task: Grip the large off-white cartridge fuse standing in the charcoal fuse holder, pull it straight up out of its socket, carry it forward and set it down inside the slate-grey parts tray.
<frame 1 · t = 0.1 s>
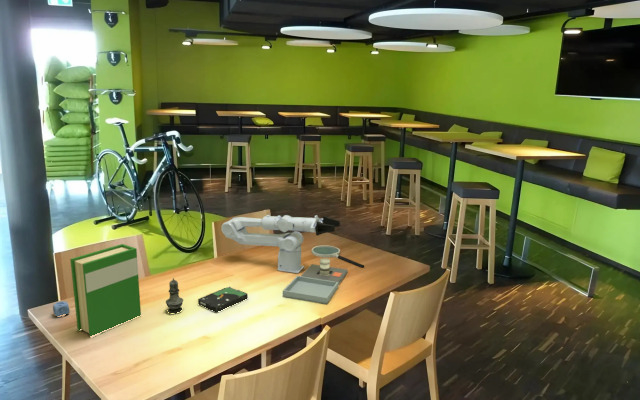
hand: (337, 226, 192), 22 cm above the table, tool horizontal, fingers open, 7 cm apart
disk drive: (223, 303, 171), on the table
fuse holder: (324, 276, 196), on the table
fuse: (324, 268, 196), in the fuse holder
magnifying glass: (338, 259, 218), on the table
hardback book: (110, 323, 154), on the table
decorative dice: (61, 315, 158), on the table
parts tray: (311, 292, 181), on the table
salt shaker: (175, 311, 164), on the table
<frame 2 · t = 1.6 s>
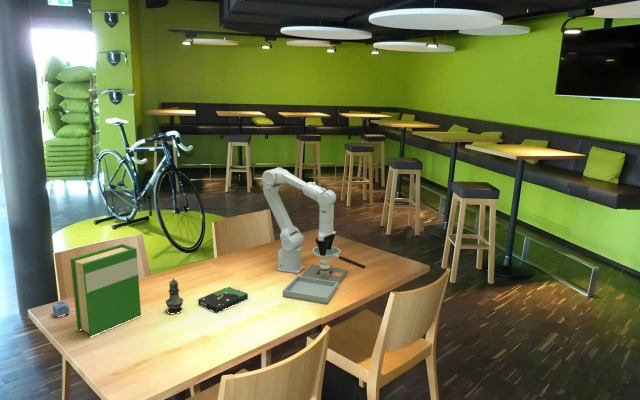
hand: (325, 252, 194), 10 cm above the table, tool pointing down, fingers open, 7 cm apart
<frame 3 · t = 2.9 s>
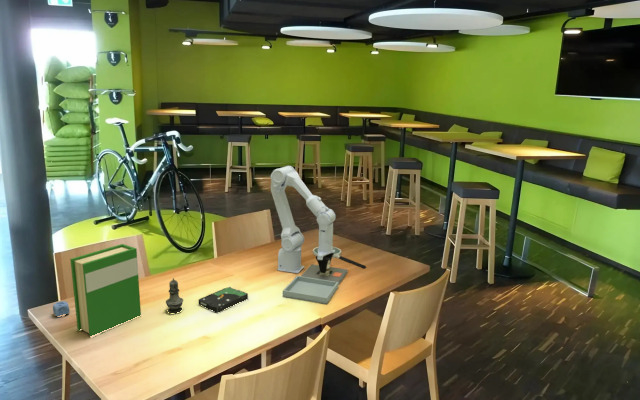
hand: (324, 270, 196), 2 cm above the table, tool pointing down, fingers closed on fuse, 4 cm apart
fuse: (324, 268, 196), in the fuse holder, touching gripper
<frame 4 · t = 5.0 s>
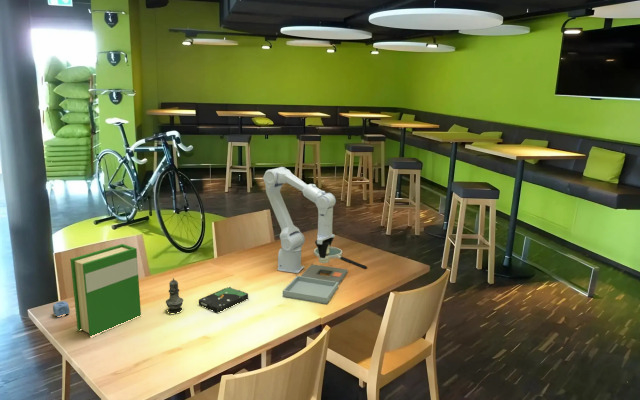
hand: (324, 255, 193), 9 cm above the table, tool pointing down, fingers closed on fuse, 4 cm apart
fuse: (324, 253, 193), point 10 cm above the table, touching gripper
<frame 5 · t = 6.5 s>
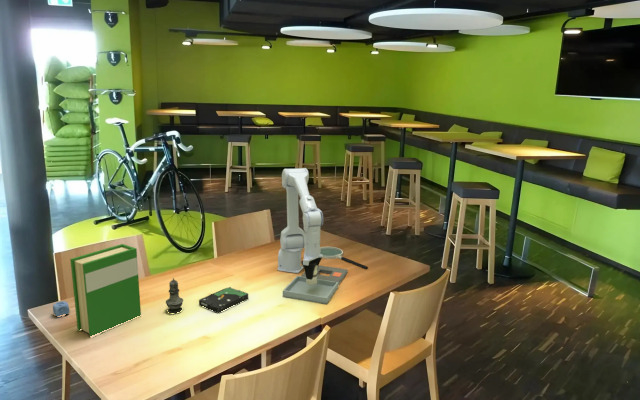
hand: (311, 276, 179), 6 cm above the table, tool pointing down, fingers closed on fuse, 4 cm apart
fuse: (311, 274, 179), point 8 cm above the table, touching gripper
when the fingers open (4 cm above the table, at t = 7.3 s): fuse drops 1 cm, resting on parts tray.
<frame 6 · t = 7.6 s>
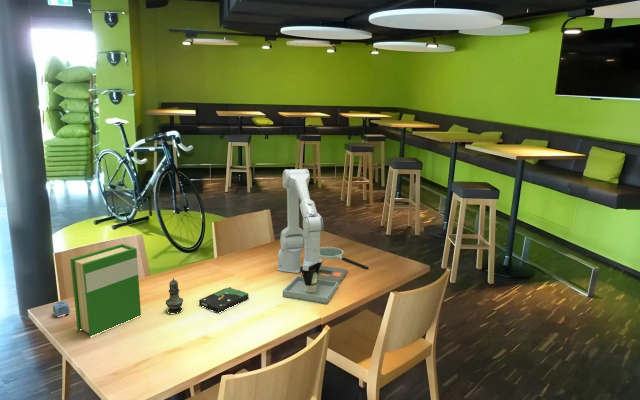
hand: (311, 281, 180), 4 cm above the table, tool pointing down, fingers open, 7 cm apart
fuse: (311, 282, 180), in the parts tray, point 4 cm above the table
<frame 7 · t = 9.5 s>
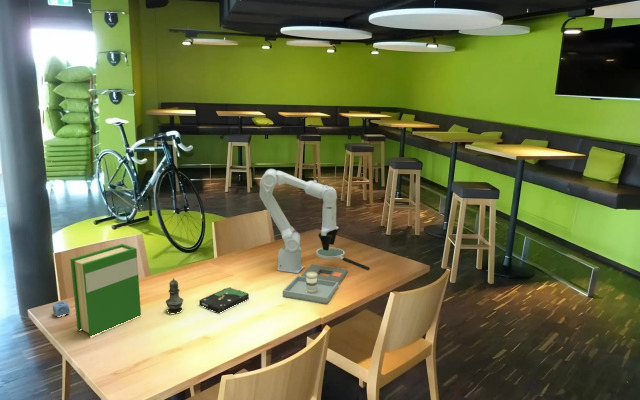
hand: (328, 247, 200), 10 cm above the table, tool pointing down, fingers open, 7 cm apart
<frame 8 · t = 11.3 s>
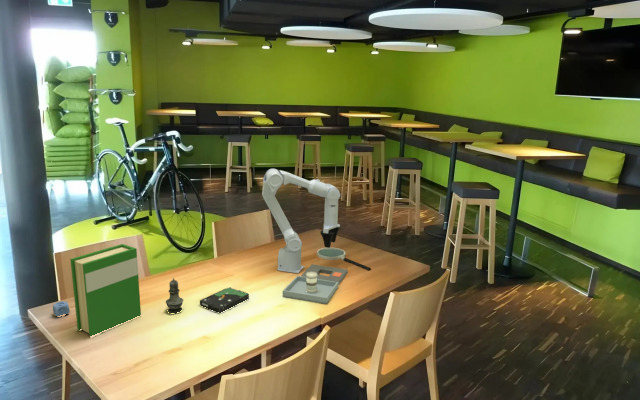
hand: (330, 244, 203), 10 cm above the table, tool pointing down, fingers open, 7 cm apart
at the end: fuse inside the target area on the parts tray (0.1 cm from its centre), point 4.1 cm above the parts tray's base; fuse moved 17.1 cm from its start; the gripper is holding nothing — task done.
